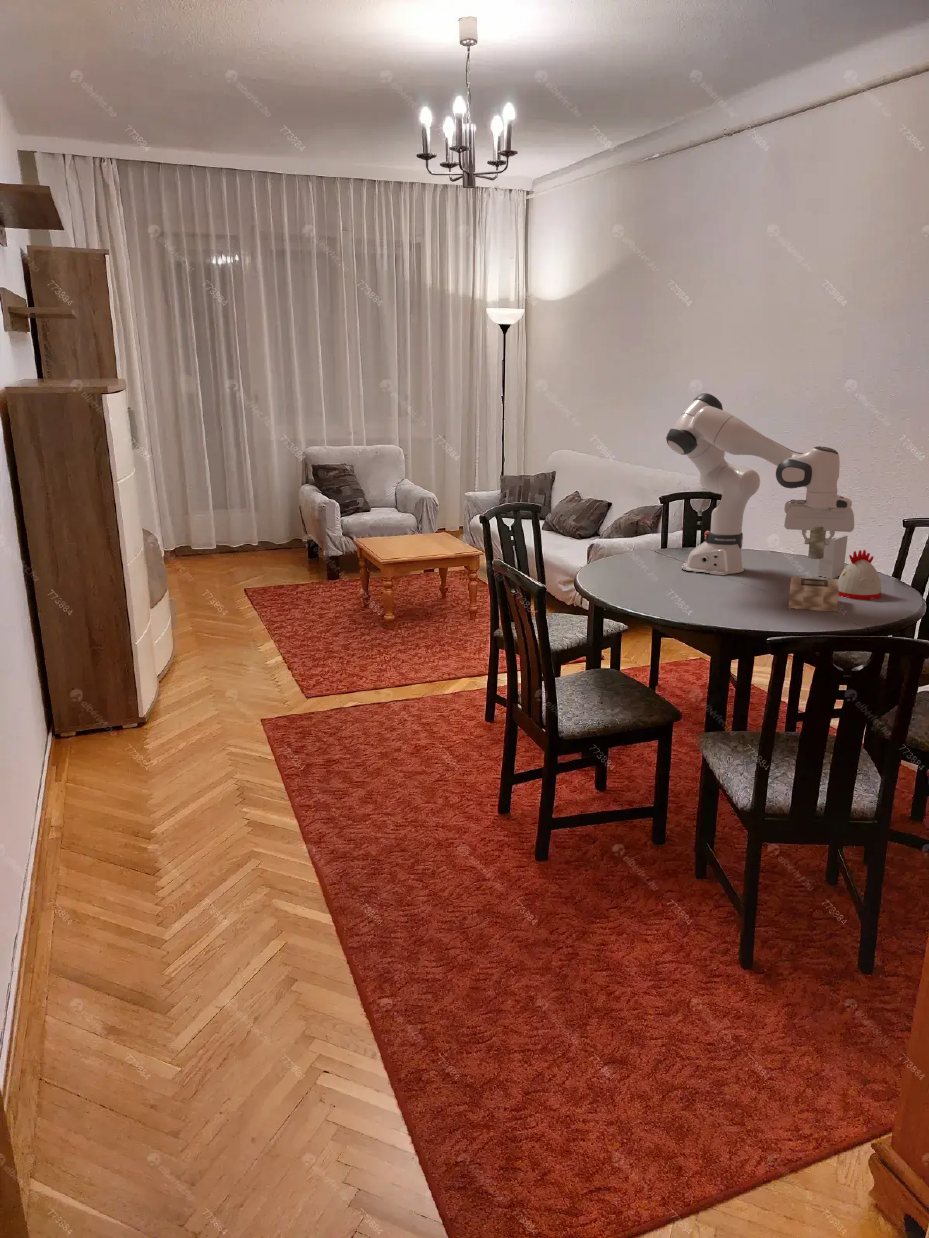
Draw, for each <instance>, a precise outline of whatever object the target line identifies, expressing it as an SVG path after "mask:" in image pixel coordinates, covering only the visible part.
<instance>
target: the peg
mask: <svg viewBox="0 0 929 1238" xmlns="http://www.w3.org/2000/svg"><path fill="white" fill-rule="evenodd" d="M823 528H824V527H814V529H813V530H809V533H810V534H809V538H810V541H809V542H810V543H809V544H808V556H807V558H809V559H811V560H812V559H813V560H814V559H815V560H819V559H823V558H824V547H825V537H826V535H827V531H824V529H823Z"/></svg>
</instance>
